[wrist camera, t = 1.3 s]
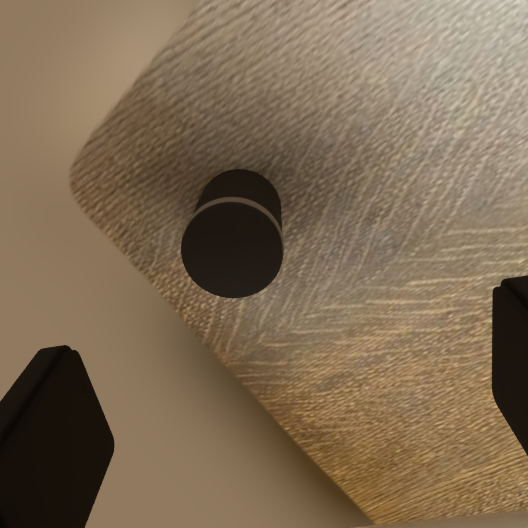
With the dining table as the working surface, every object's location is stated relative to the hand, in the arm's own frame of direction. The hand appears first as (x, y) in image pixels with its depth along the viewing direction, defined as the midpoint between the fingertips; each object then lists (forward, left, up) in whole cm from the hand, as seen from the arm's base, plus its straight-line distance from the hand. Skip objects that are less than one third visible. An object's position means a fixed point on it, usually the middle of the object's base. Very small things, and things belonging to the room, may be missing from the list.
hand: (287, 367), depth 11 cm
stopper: (-1, -3, -16) cm, 17 cm away
